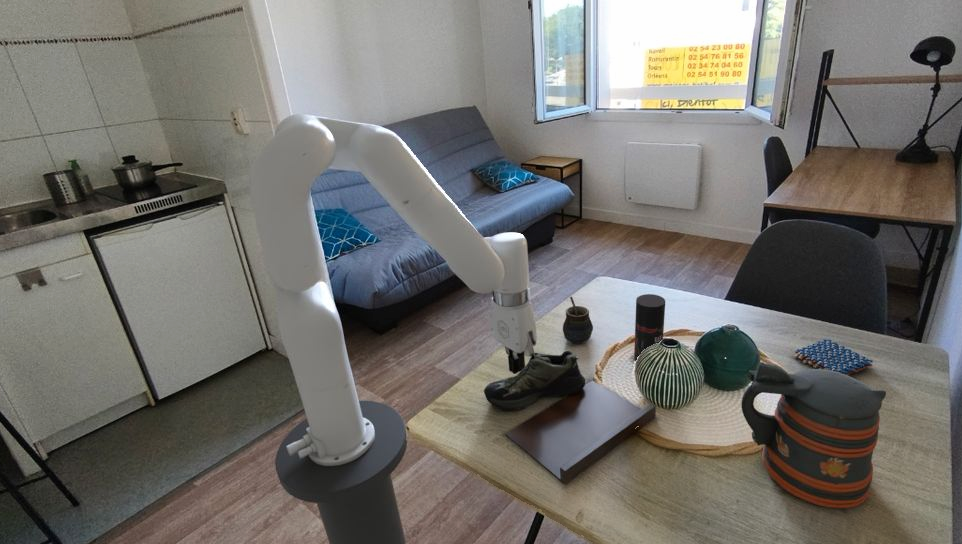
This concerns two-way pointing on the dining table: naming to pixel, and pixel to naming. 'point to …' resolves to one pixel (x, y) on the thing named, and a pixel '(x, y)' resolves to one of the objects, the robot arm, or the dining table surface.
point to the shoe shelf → (580, 430)
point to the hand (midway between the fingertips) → (517, 369)
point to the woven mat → (833, 357)
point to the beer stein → (816, 433)
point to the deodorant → (648, 322)
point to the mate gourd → (577, 324)
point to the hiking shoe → (537, 381)
